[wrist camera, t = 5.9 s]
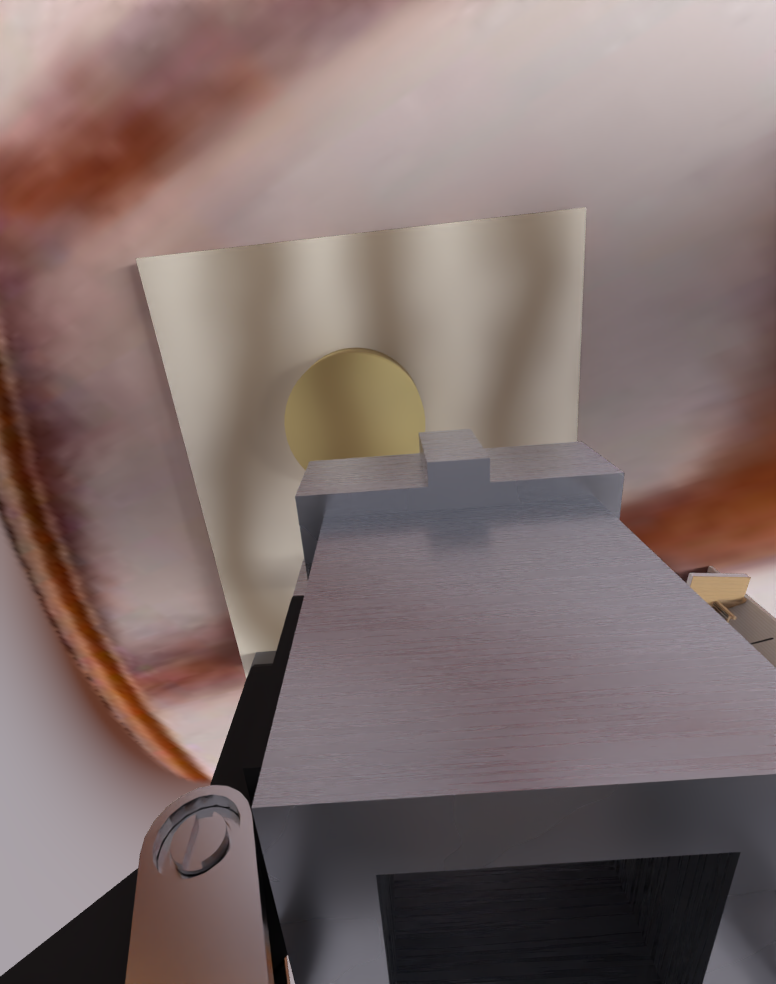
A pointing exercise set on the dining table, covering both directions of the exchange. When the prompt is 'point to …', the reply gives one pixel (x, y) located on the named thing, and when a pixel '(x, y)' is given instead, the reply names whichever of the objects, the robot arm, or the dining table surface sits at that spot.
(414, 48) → the dining table surface
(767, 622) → the architectural model
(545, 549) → the keystone jack insert
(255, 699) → the robot arm
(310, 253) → the board
